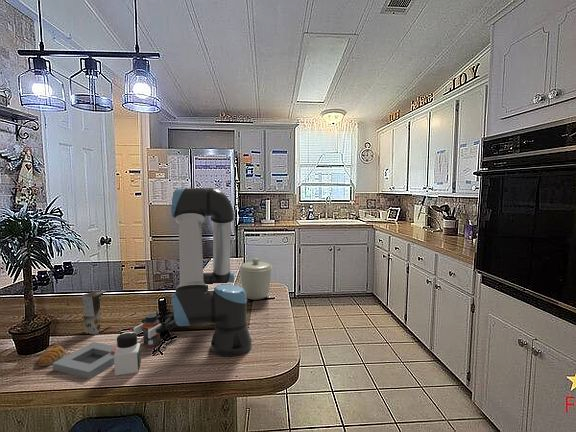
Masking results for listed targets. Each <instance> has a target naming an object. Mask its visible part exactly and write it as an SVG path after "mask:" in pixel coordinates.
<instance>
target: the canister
mask: <svg viewBox="0 0 576 432" xmlns="http://www.w3.org/2000/svg"><path fill="white" fill-rule="evenodd" d="M238 270H239V271H240V272H239V273H240V280H241V281H240V282H241V287H242V288H243V289H244V290H245V291H246V299H249V300H262V299H265V298H267V297H268V295H269V292H270V286H271V277H272V270H273V265H272V264H270V263H268V262H265V261H260V259H259V258H257V257H256V258H255V257H254V258H252V260H251V261H247V262H243V263H242V264H240V265H239V266H238Z"/></svg>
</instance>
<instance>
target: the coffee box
mask: <svg viewBox="0 0 576 432" xmlns="http://www.w3.org/2000/svg"><path fill="white" fill-rule="evenodd" d="M105 292H106V291H101V290H100V291H96V290H93V291H91V292H88V293H85V294H81V295H82V305H83V304H84V310H83V309H82V313H83V315H84V316H83V317H84V318H83V317H82V318H83V323H84V322H85V328H86V331H87V333H86V334H88V333H89V335H99V334H100V333H99V331H100V319H101V318H100V315H101V312H100V301H101V295H102V294H103V293H105ZM83 311H84V312H83Z"/></svg>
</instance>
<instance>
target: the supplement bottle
mask: <svg viewBox="0 0 576 432" xmlns="http://www.w3.org/2000/svg"><path fill="white" fill-rule="evenodd" d="M144 317H145V319H146V320H145V321H144V322H143V331H142V332H143V333H142V336H143V346H144V347H147V348H148V347H149V348H150V347H151V348H152V347H153V348H154V347H156V346H158V345H159V344H160V343H161V332H160V333H158V334H156V335H154V336H153V337H151V338H148V330H150V329H152V328H154V327H155V326H157V325H159V324H161V322H160V323H159V320H158V319H157V315H156V314H155V313H148V314H146V315H145V316H144Z"/></svg>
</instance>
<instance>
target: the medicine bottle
mask: <svg viewBox="0 0 576 432" xmlns="http://www.w3.org/2000/svg"><path fill="white" fill-rule="evenodd" d="M116 345H117V346H116V347H117V349H116V352H115V354H114V364H113V366H114V376H116V377H117V376H123V375H131V374H137V373H139V371H140V368H141V363H142V355H141V354H142V353H141V343H140V342H138V334H136V333H134V331H126V332H123V333H121V334H119V335H118V336H117V337H116Z"/></svg>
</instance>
